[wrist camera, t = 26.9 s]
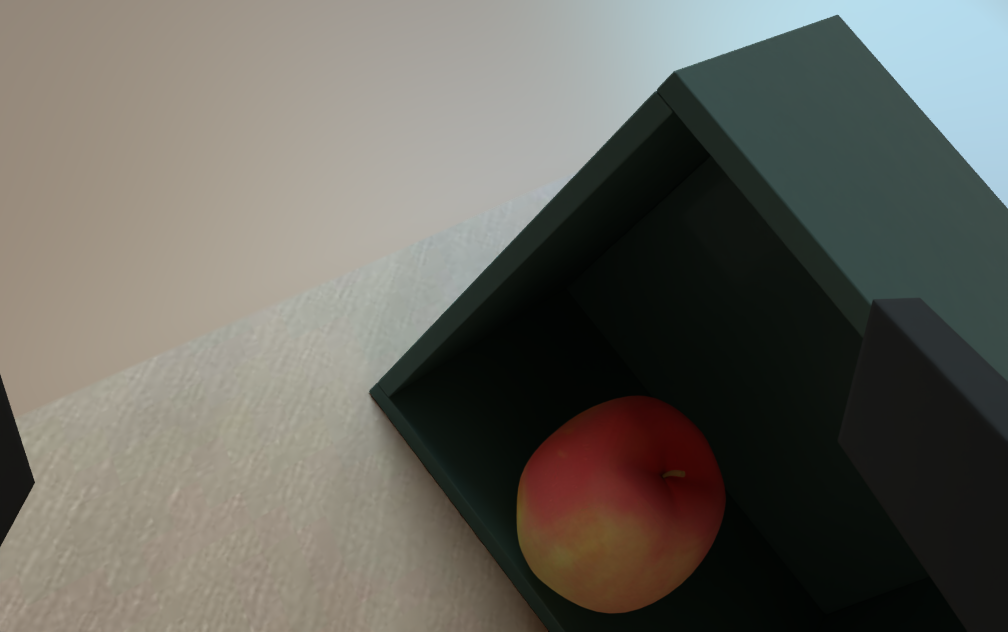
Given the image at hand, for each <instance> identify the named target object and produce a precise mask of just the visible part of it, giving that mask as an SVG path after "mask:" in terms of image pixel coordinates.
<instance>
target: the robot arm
mask: <svg viewBox="0 0 1008 632" xmlns="http://www.w3.org/2000/svg"><path fill="white" fill-rule="evenodd" d="M838 442H839V444H840V445H841V447H842V448H843V450H844V451H845V453H846V454H847V456H848V457H849V459H850V460H851V462H852V463H853V464H854V466H855V467H856V469H857V470H858V472H859V473H860V475H861V476H862V478H863V479H864V481H865V482H866V484H867V485H868V486H869V488H870V489H871V491H872V492H873V494H874V495H875V497H876V498H877V500H878V501H879V503H880V504H881V506H882V507H883V508H884V510H885V511H886V513H887V514H888V516H889V517H890V519H891V520H892V522H893V523H894V525H895V526H896V527H897V529H898V530H899V532H900V533H901V535H902V536H903V538H904V539H905V541H906V542H907V544H908V545H909V547H910V548H911V549H912V551H913V552H914V554H915V555H916V557H917V558H918V560H919V561H920V563H921V564H922V566H923V567H924V569H925V570H926V571H927V573H928V574H929V576H930V577H931V579H932V580H933V582H934V583H935V585H936V586H937V588H938V589H939V591H940V592H941V593H942V595H943V596H944V598H945V599H946V601H947V602H948V604H949V605H950V607H951V608H952V610H953V611H954V612H955V614H956V615H957V617H958V618H959V620H960V621H961V623H962V624H963V626H964V627H965V629H966V630H967V632H1008V381H1007V380H1006V379H1005V378H1004V377H1003V376H1002V375H1000V374H999V373H998V372H997V371H996V370H995V369H994V368H993V367H992V366H991V365H990V364H989V363H988V362H987V361H986V360H985V359H984V358H983V357H982V356H981V355H980V354H978V353H977V352H976V351H975V350H974V349H973V348H972V347H971V346H970V345H969V344H968V343H967V342H966V341H965V340H964V339H963V338H962V337H961V336H960V335H959V334H958V333H956V332H955V331H954V330H953V329H952V328H951V327H950V326H949V325H948V324H947V323H946V322H945V321H944V320H943V319H942V318H941V317H940V316H939V315H938V314H937V313H936V312H934V311H933V310H932V309H931V308H930V307H929V306H928V305H927V304H926V303H925V302H924V301H923V300H922V299H921V298H896V299H873V301H872V305H871V309H870V313H869V317H868V321H867V325H866V329H865V333H864V337H863V341H862V345H861V349H860V353H859V357H858V361H857V365H856V369H855V373H854V377H853V381H852V385H851V389H850V393H849V397H848V401H847V405H846V409H845V413H844V417H843V421H842V425H841V429H840V433H839V437H838ZM34 483H35V481H34V478H33V475H32V472H31V469H30V466H29V463H28V460H27V456H26V453H25V450H24V447H23V444H22V441H21V438H20V435H19V431H18V428H17V425H16V422H15V419H14V416H13V413H12V410H11V406H10V403H9V400H8V397H7V394H6V391H5V388H4V385H3V382H2V378H1V375H0V546H1V544H2V543H3V541H4V539H5V537H6V535H7V533H8V531H9V530H10V528H11V526H12V524H13V522H14V520H15V519H16V517H17V515H18V513H19V511H20V509H21V507H22V506H23V504H24V502H25V500H26V498H27V496H28V495H29V493H30V491H31V489H32V487H33V485H34Z"/></svg>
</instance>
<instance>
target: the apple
mask: <svg viewBox="0 0 1008 632" xmlns="http://www.w3.org/2000/svg"><path fill="white" fill-rule="evenodd" d="M725 503H726V494H725V486H724V481H723V478H722V475H721V472H720V469H719V466H718V463H717V461H716V458H715V456H714V454H713V452H712V449H711V447H710V445H709V443H708V441H707V439H706V438H705V436H704V435H703V433H702V432H701V431H700V430H699V429H698V427H697V426H696V425H695V424H694V423H693V422H692V421H691V420H690V419H688V418H687V417H686V416H685V415H684V414H683V413H681V412H680V411H679V410H677V409H676V408H674V407H673V406H671V405H669V404H667V403H665V402H663V401H661V400H659V399H656V398H653V397H648V396H626V397H621V398H616V399H613V400H609V401H606V402H603V403H601V404H598V405H596V406H594V407H591V408H589V409H587V410H585V411H584V412H582V413H580V414H578V415H577V416H575V417H573V418H572V419H570V420H569V421H567V422H566V423H565V424H564V425H562V426H561V427H560V428H559V429H557V430H556V431H555V432H554V433H553V434H552V435H550V436H549V437H548V438H547V439H546V440H545V441H544V442H543V443H542V444H541V445H540V446H539V448H538V449H537V450H536V451H535V452H534V453H533V455H532V456H531V458H530V459H529V461H528V462H527V464H526V466H525V468H524V470H523V473H522V475H521V478H520V483H519V487H518V495H517V534H518V540H519V545H520V548H521V551H522V553H523V555H524V557H525V559H526V561H527V563H528V565H529V567H530V568H531V570H532V571H533V573H534V574H535V575H536V576H537V577H538V578H539V579H540V580H541V581H542V582H543V583H545V584H546V585H547V586H548V587H550V588H551V589H552V590H554V591H555V592H557V593H558V594H559V595H561V596H563V597H564V598H566V599H568V600H570V601H571V602H573V603H575V604H577V605H579V606H582V607H584V608H587V609H590V610H593V611H596V612H603V613H624V612H629V611H633V610H637V609H640V608H643V607H645V606H647V605H650V604H652V603H654V602H656V601H657V600H659V599H661V598H663V597H664V596H666V595H668V594H669V593H670V592H672V591H673V590H674V589H675V588H677V587H678V586H679V585H681V584H682V583H683V582H684V581H685V580H686V579H687V578H688V577H689V576H690V575H691V574H692V573H693V572H694V570H695V569H696V568H697V567H698V565H699V564H700V563H701V562H702V560H703V559H704V557H705V556H706V554H707V553H708V551H709V549H710V548H711V546H712V544H713V542H714V540H715V538H716V535H717V533H718V531H719V528H720V526H721V523H722V519H723V515H724V510H725Z"/></svg>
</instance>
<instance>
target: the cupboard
mask: <svg viewBox="0 0 1008 632" xmlns="http://www.w3.org/2000/svg"><path fill="white" fill-rule="evenodd" d="M896 298H921V299H922V300H923V301H924V302H925V303H926V304H927V305H928V306H929V307H930V308H931V309H932V310H933V311H934V312H936V313H937V314H938V315H939V316H940V317H941V318H942V319H943V320H944V321H945V322H946V323H947V324H948V325H949V326H950V327H951V328H952V329H953V330H954V331H955V332H956V333H958V334H959V335H960V336H961V337H962V338H963V339H964V340H965V341H966V342H967V343H968V344H969V345H970V346H971V347H972V348H973V349H974V350H975V351H976V352H977V353H978V354H980V355H981V356H982V357H983V358H984V359H985V360H986V361H987V362H988V363H989V364H990V365H991V366H992V367H993V368H994V369H995V370H996V371H997V372H998V373H999V374H1000V375H1002V376H1003V377H1004V378H1005V379H1006V380H1007V381H1008V209H1007V207H1006V206H1005V205H1004V204H1003V203H1002V202H1001V200H999V198H998V197H997V196H996V195H995V194H994V192H993V191H992V190H991V189H990V188H989V187H988V186H987V184H986V183H985V182H984V181H983V180H982V179H981V178H980V176H979V175H978V174H977V173H976V172H975V171H974V170H973V168H972V167H971V166H970V165H969V164H968V163H967V162H966V161H965V159H964V158H963V157H962V156H961V155H960V154H959V152H958V151H957V150H956V149H955V148H954V147H953V146H952V145H951V143H950V142H949V141H948V140H947V139H946V138H945V136H944V135H943V134H942V133H941V132H940V131H939V130H938V128H937V127H936V126H935V125H934V124H933V123H932V122H931V120H929V118H928V117H927V116H926V115H925V114H924V112H923V111H922V110H921V109H920V108H919V107H918V106H917V105H916V103H915V102H914V101H913V100H912V99H911V98H910V96H909V95H908V94H907V93H906V92H905V91H904V90H903V88H902V87H901V86H900V85H899V84H898V83H897V81H896V80H895V79H894V78H893V77H892V76H891V75H890V74H889V72H888V71H887V70H886V69H885V68H884V67H883V66H882V64H881V63H880V62H879V61H878V60H877V59H876V57H874V55H873V54H872V53H871V52H870V51H869V50H868V48H867V47H866V46H865V45H864V44H863V43H862V42H861V40H860V39H859V38H858V37H857V36H856V35H855V34H854V32H853V31H852V30H851V29H850V28H849V27H848V25H846V23H845V22H844V21H843V20H842V19H841V18H840V17H839V15H835V16H833V17H830V18H827V19H824V20H821V21H818V22H816V23H812V24H810V25H807V26H804V27H801V28H798V29H795V30H792V31H789V32H786V33H784V34H781V35H778V36H775V37H772V38H769V39H766V40H764V41H760V42H757V43H755V44H752V45H749V46H746V47H743V48H741V49H737V50H734V51H731V52H729V53H726V54H723V55H720V56H717V57H714V58H711V59H708V60H705V61H702V62H700V63H697V64H694V65H691V66H688V67H685V68H682V69H679V70H676V71H674V72H673V73H672V74H671V75H670V76H669V77H668V78H667V79H666V80H665V81H664V82H663V83H662V84H661V85H660V87H659V88H658V89H657V91H656V92H654V93H653V94H652V95H651V96H650V97H649V98H648V99H647V100H646V101H645V102H644V103H643V104H642V106H641V107H640V108H639V109H638V110H637V111H636V112H635V113H634V114H633V115H632V116H631V117H630V118H629V119H628V120H627V121H626V122H625V123H624V124H623V125H622V126H621V128H620V129H619V130H618V131H617V132H616V133H615V134H614V135H613V136H612V137H611V138H610V139H609V140H608V141H607V142H606V143H605V144H604V145H603V147H601V149H600V150H599V151H598V152H597V153H596V154H595V155H594V156H593V157H592V158H591V159H590V160H589V161H588V162H587V163H586V164H585V165H584V166H583V167H582V168H581V169H580V171H579V172H578V173H577V174H576V175H575V176H574V177H573V178H572V179H571V180H570V181H569V182H568V183H567V184H566V185H565V186H564V187H563V188H562V189H561V190H560V192H559V193H558V194H557V195H556V196H555V197H554V198H553V199H552V200H551V201H550V202H549V203H548V204H547V205H546V206H545V207H544V208H543V209H542V210H541V211H540V213H539V214H538V215H537V216H536V217H535V218H534V219H533V220H532V221H531V222H530V223H529V224H528V225H527V226H526V227H525V228H524V229H523V230H522V231H521V232H520V233H519V235H518V236H517V237H516V238H515V239H514V240H513V241H512V242H511V243H510V244H509V245H508V246H507V247H506V248H505V249H504V250H503V251H502V252H501V253H500V254H499V256H498V257H497V258H496V259H495V260H494V261H493V262H492V263H491V264H490V265H489V266H488V267H487V268H486V269H485V270H484V271H483V272H482V273H481V274H480V275H479V276H478V278H477V279H476V280H475V281H474V282H473V283H472V284H471V285H470V286H469V287H468V288H467V289H466V290H465V291H464V292H463V293H462V294H461V295H460V296H459V297H458V299H457V300H456V301H455V302H454V303H453V304H452V305H451V306H450V307H449V308H448V309H447V310H446V311H445V312H444V313H443V314H442V315H441V316H440V317H439V318H438V320H437V321H436V322H435V323H434V324H433V325H432V326H431V327H430V328H429V329H428V330H427V331H426V332H425V333H424V334H423V335H422V336H421V337H420V338H419V339H418V340H417V342H416V343H415V344H414V345H413V346H412V347H411V348H410V349H409V350H408V351H407V352H406V353H405V354H404V355H403V356H402V357H401V358H400V359H399V360H398V361H397V363H396V364H395V365H394V366H393V367H392V368H391V369H390V370H389V371H388V372H387V373H386V374H385V375H384V376H383V377H382V378H381V379H380V380H379V382H378V383H376V384H375V385H374V387H373V388H372V389H371V390H370V391H369V392H370V393H371V395H372V396H373V397H374V399H375V400H376V401H377V403H378V404H379V405H380V407H381V408H382V409H383V411H384V412H385V413H386V415H387V416H388V417H389V419H390V420H391V421H392V423H393V424H394V425H395V427H396V428H397V429H398V431H399V432H400V433H401V435H402V436H403V437H404V439H405V440H406V441H407V443H408V444H409V445H410V447H411V448H412V449H413V451H414V452H415V453H416V455H417V456H418V457H419V459H420V460H421V461H422V463H423V464H424V465H425V467H426V468H427V469H428V471H429V472H430V473H431V475H432V476H433V477H434V479H435V480H436V481H437V483H438V484H439V485H440V487H441V488H442V489H443V491H444V492H445V493H446V495H447V496H448V497H449V499H450V500H451V501H452V503H453V504H454V505H455V507H456V508H457V509H458V511H459V512H460V513H461V515H462V516H463V517H464V519H465V520H466V521H467V523H468V524H469V525H470V527H471V528H472V529H473V531H474V532H475V533H476V534H477V536H478V537H479V538H480V540H481V541H482V542H483V544H484V545H485V546H486V548H487V549H488V550H489V552H490V553H491V554H492V556H493V557H494V558H495V560H496V561H497V562H498V564H499V565H500V566H501V568H502V569H503V570H504V572H505V573H506V574H507V576H508V577H509V578H510V580H511V581H512V582H513V584H514V585H515V586H516V588H517V589H518V590H519V592H520V593H521V594H522V596H523V597H524V598H525V600H526V601H527V602H528V604H529V605H530V606H531V608H532V609H533V610H534V612H535V613H536V614H537V616H538V617H539V618H540V620H541V621H542V622H543V624H544V625H545V626H546V628H547V629H548V630H549V632H967V630H966V629H965V627H964V626H963V624H962V623H961V621H960V620H959V618H958V617H957V615H956V614H955V612H954V611H953V610H952V608H951V607H950V605H949V604H948V602H947V601H946V599H945V598H944V596H943V595H942V593H941V592H940V591H939V589H938V588H937V586H936V585H935V583H934V582H933V580H932V579H931V577H930V576H929V574H928V573H927V571H926V570H925V569H924V567H923V566H922V564H921V563H920V561H919V560H918V558H917V557H916V555H915V554H914V552H913V551H912V549H911V548H910V547H909V545H908V544H907V542H906V541H905V539H904V538H903V536H902V535H901V533H900V532H899V530H898V529H897V527H896V526H895V525H894V523H893V522H892V520H891V519H890V517H889V516H888V514H887V513H886V511H885V510H884V508H883V507H882V506H881V504H880V503H879V501H878V500H877V498H876V497H875V495H874V494H873V492H872V491H871V489H870V488H869V486H868V485H867V484H866V482H865V481H864V479H863V478H862V476H861V475H860V473H859V472H858V470H857V469H856V467H855V466H854V464H853V463H852V462H851V460H850V459H849V457H848V456H847V454H846V453H845V451H844V450H843V448H842V447H841V445H840V444H839V442H838V437H839V433H840V429H841V425H842V421H843V417H844V413H845V409H846V405H847V401H848V397H849V393H850V389H851V385H852V381H853V377H854V373H855V369H856V365H857V361H858V357H859V353H860V349H861V345H862V341H863V337H864V333H865V329H866V325H867V321H868V317H869V313H870V309H871V305H872V301H873V299H896ZM626 396H648V397H653V398H656V399H659V400H661V401H663V402H665V403H667V404H669V405H671V406H673V407H674V408H676V409H677V410H679V411H680V412H681V413H683V414H684V415H685V416H686V417H687V418H688V419H690V420H691V421H692V422H693V423H694V424H695V425H696V426H697V427H698V429H699V430H700V431H701V432H702V433H703V435H704V436H705V438H706V439H707V441H708V443H709V445H710V447H711V449H712V452H713V454H714V456H715V458H716V461H717V463H718V466H719V469H720V472H721V475H722V478H723V481H724V486H725V494H726V503H725V510H724V515H723V519H722V523H721V526H720V528H719V531H718V533H717V535H716V538H715V540H714V542H713V544H712V546H711V548H710V549H709V551H708V553H707V554H706V556H705V557H704V559H703V560H702V562H701V563H700V564H699V565H698V567H697V568H696V569H695V570H694V572H693V573H692V574H691V575H690V576H689V577H688V578H687V579H686V580H685V581H684V582H683V583H682V584H681V585H679V586H678V587H677V588H675V589H674V590H673V591H672V592H670V593H669V594H668V595H666V596H664V597H663V598H661V599H659V600H657V601H656V602H654V603H652V604H650V605H647V606H645V607H643V608H640V609H637V610H633V611H629V612H624V613H603V612H596V611H593V610H590V609H587V608H584V607H582V606H579V605H577V604H575V603H573V602H571V601H570V600H568V599H566V598H564V597H563V596H561V595H559V594H558V593H557V592H555V591H554V590H552V589H551V588H550V587H548V586H547V585H546V584H545V583H543V582H542V581H541V580H540V579H539V578H538V577H537V576H536V575H535V574H534V573H533V571H532V570H531V568H530V567H529V565H528V563H527V561H526V559H525V557H524V555H523V553H522V551H521V548H520V545H519V540H518V534H517V495H518V487H519V483H520V478H521V475H522V473H523V470H524V468H525V466H526V464H527V462H528V461H529V459H530V458H531V456H532V455H533V453H534V452H535V451H536V450H537V449H538V448H539V446H540V445H541V444H542V443H543V442H544V441H545V440H546V439H547V438H548V437H549V436H550V435H552V434H553V433H554V432H555V431H556V430H557V429H559V428H560V427H561V426H562V425H564V424H565V423H566V422H567V421H569V420H570V419H572V418H573V417H575V416H577V415H578V414H580V413H582V412H584V411H585V410H587V409H589V408H591V407H594V406H596V405H598V404H601V403H603V402H606V401H609V400H613V399H616V398H621V397H626Z"/></svg>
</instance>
